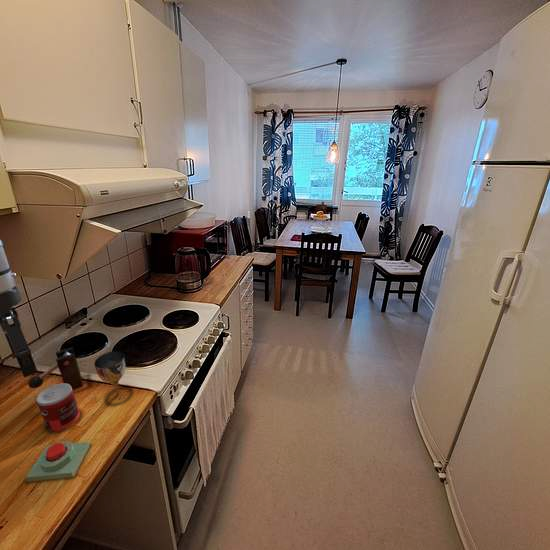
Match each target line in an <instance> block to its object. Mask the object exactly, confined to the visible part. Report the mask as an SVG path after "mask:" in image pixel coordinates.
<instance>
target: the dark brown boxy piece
mask: <svg viewBox="0 0 550 550" xmlns="http://www.w3.org/2000/svg"><path fill="white" fill-rule="evenodd" d="M65 352H69V353H70V355H67V356H63V357H60V356H62V355H63V354H64V353H65ZM55 355H56V358H55V361H56V363H57V364H58V370H59V374H60V376H61V379H62V383H66V384H69V385H70V386H71V388H72V390H73V391H74V390H76V389H79V388H82V387H83V386H84V383H83V381H82V380H83V378H82V374H81V371H80V366H79V364H78V361H77V358H76V354H75V351H74V348H73V347H68V348H65V349H61V350H58V351H55ZM59 357H60V358H59Z"/></svg>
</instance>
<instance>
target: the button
mask: <svg viewBox="0 0 550 550" xmlns="http://www.w3.org/2000/svg"><path fill="white" fill-rule="evenodd" d="M51 445H52V446H51V447H50V448H49V449H48V450H47V452H46V456H47V459H48V461H50V462H53V461H56V460H59V459H60V458H61V457H63V456H64V454H65V452H66V449H65V446H64V444H63V443H59V442H56V443H54V444H51Z"/></svg>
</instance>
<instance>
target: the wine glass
mask: <svg viewBox="0 0 550 550" xmlns="http://www.w3.org/2000/svg"><path fill="white" fill-rule="evenodd" d="M93 363H94V364H93V365H94V368H95V372H96V374H97V376H98V377H99V379H100V380H101V381H102V382H105V383H107V384H111V385H112V386H113V387H114V389H115V390H114V391H115V393H116V396H120V395H121V393H120V389H119V382H120V381H121V380H122V378H123V376H124V375H125V373H126V369H127V364H126V363H127V361H126V357H125V354H124V353H123V352H122V351H116V350H115V351H109V352H106V353H103V354H102V355H99V356H98V357H97V358H96V359H95V360H94V362H93Z"/></svg>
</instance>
